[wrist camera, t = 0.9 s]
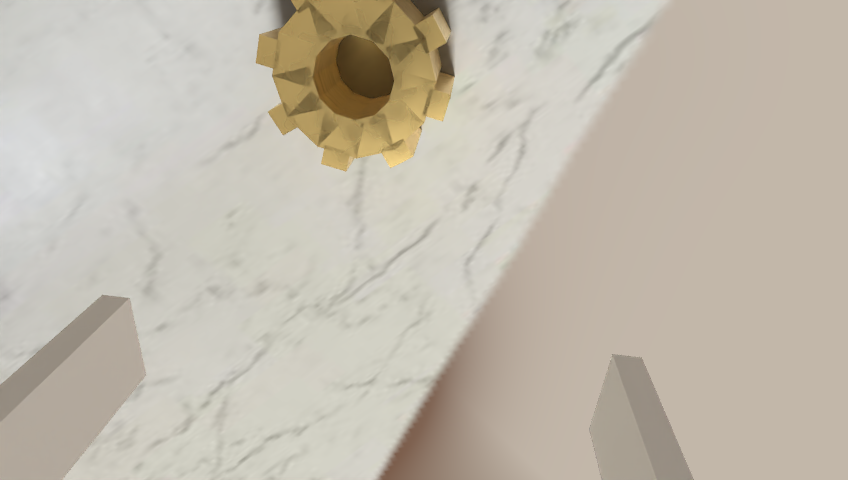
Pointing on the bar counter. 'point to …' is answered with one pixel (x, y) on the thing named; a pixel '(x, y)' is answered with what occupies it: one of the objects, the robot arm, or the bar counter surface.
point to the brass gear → (334, 101)
